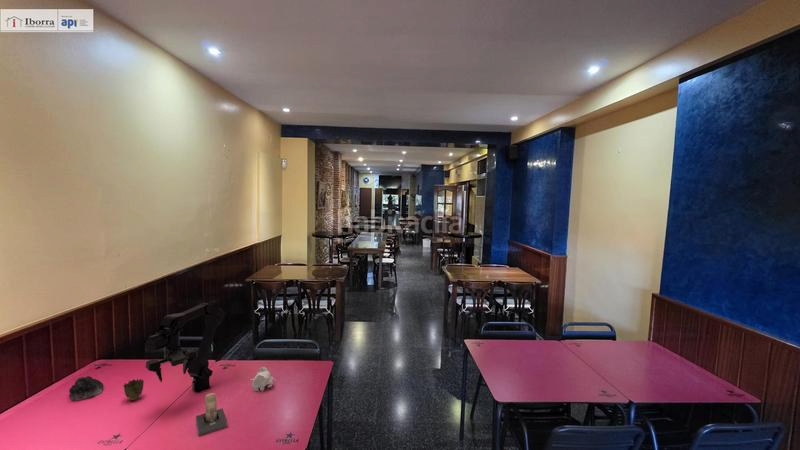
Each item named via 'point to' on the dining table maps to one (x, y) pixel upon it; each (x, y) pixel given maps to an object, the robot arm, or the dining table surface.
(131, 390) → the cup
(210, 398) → the keyed peg
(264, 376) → the elephant figurine
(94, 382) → the dark grey rock
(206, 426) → the block
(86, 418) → the dining table surface
